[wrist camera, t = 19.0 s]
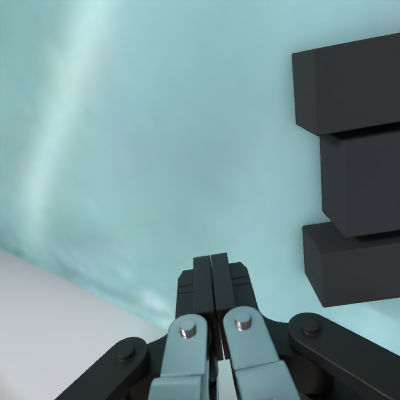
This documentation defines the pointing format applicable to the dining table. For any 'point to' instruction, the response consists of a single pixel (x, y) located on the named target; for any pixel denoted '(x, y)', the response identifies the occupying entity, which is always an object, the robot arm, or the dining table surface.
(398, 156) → the small black block
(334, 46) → the large dark u-shaped block
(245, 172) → the dining table surface
